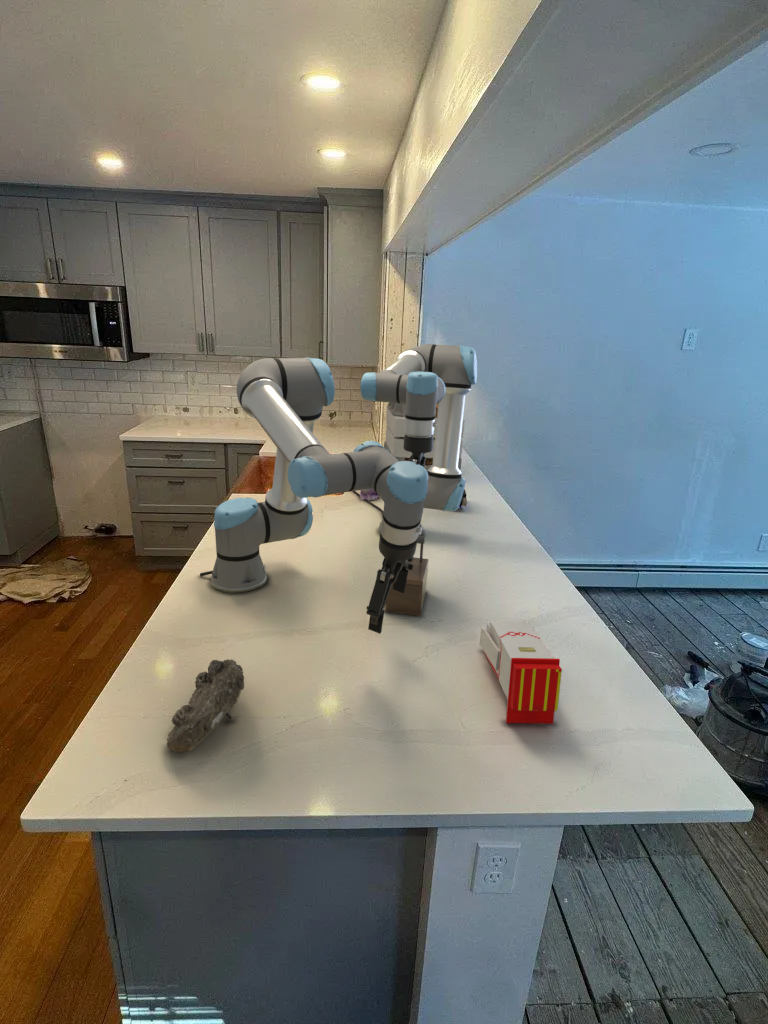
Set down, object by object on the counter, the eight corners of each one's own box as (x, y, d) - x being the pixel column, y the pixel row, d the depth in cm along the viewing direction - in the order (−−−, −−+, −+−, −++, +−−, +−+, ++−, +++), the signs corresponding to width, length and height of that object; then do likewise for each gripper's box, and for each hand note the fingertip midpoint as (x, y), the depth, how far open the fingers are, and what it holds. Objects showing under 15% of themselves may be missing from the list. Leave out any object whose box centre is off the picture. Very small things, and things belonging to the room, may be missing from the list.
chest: (393, 587, 161) (394, 560, 158) (425, 591, 160) (428, 563, 157) (385, 611, 148) (386, 582, 145) (420, 616, 147) (422, 586, 144)
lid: (395, 559, 159) (396, 530, 156) (428, 563, 157) (430, 533, 154) (386, 581, 145) (388, 550, 142) (422, 586, 144) (424, 554, 141)
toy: (526, 605, 135) (570, 665, 105) (521, 658, 137) (563, 730, 108) (475, 604, 134) (506, 664, 105) (472, 657, 137) (500, 729, 108)
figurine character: (467, 515, 225) (461, 499, 238) (469, 498, 221) (463, 482, 235) (450, 514, 224) (445, 498, 238) (452, 497, 221) (447, 482, 234)
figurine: (364, 502, 230) (365, 466, 225) (353, 495, 238) (354, 460, 233) (384, 500, 234) (386, 464, 229) (373, 492, 242) (375, 458, 237)
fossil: (192, 660, 117) (244, 628, 112) (224, 691, 120) (276, 661, 115) (142, 746, 98) (202, 712, 93) (182, 779, 101) (242, 748, 96)
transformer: (382, 463, 289) (386, 382, 275) (445, 464, 293) (451, 384, 279) (390, 482, 257) (394, 392, 243) (460, 483, 261) (468, 394, 247)
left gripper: (392, 580, 102) (380, 656, 114) (437, 508, 121) (422, 580, 133) (354, 565, 104) (347, 642, 116) (404, 498, 123) (393, 569, 135)
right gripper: (428, 447, 131) (422, 532, 138) (437, 426, 154) (432, 500, 161) (396, 444, 132) (392, 529, 139) (410, 424, 155) (406, 498, 163)
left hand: (387, 609), depth 125 cm, fingers open, 13 cm apart
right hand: (413, 514), depth 150 cm, fingers open, 13 cm apart
